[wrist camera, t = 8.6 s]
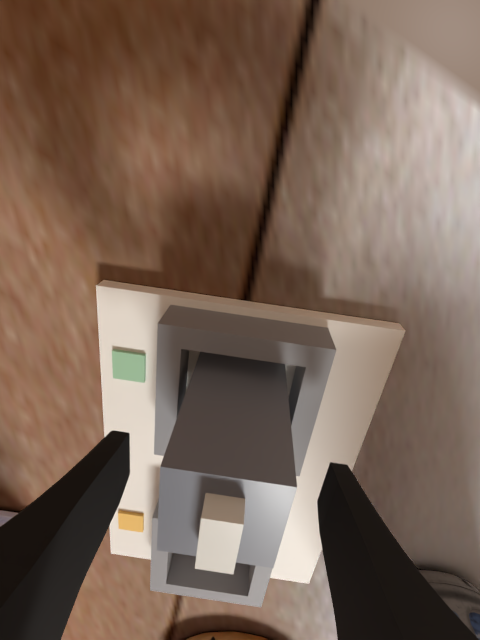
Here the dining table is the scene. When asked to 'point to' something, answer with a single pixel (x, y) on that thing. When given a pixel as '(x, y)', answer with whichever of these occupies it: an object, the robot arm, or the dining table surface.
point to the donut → (226, 636)
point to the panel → (169, 391)
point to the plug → (229, 466)
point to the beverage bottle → (457, 597)
